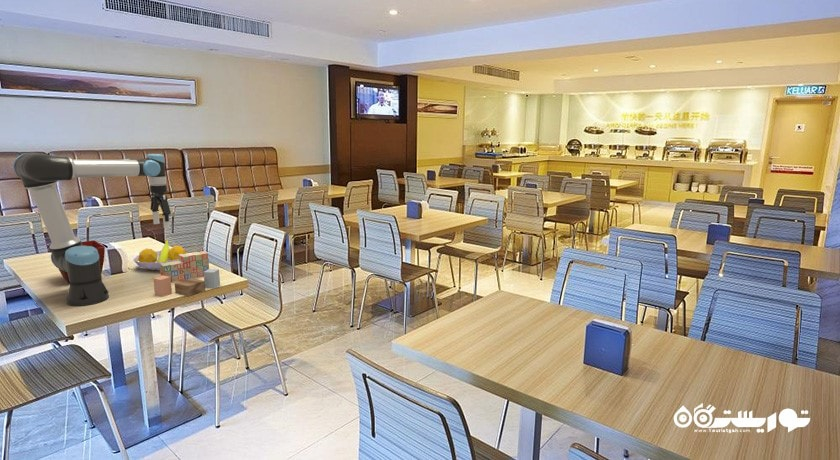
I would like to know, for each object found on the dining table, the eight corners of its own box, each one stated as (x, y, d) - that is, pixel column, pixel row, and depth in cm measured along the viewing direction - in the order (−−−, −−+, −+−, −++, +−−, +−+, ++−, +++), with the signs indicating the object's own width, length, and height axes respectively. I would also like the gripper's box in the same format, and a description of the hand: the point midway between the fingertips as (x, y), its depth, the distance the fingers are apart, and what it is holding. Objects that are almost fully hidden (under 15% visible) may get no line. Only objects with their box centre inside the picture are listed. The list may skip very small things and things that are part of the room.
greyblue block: (214, 288, 224) (213, 272, 222) (204, 287, 225) (203, 271, 223) (220, 285, 229) (218, 269, 227) (210, 284, 229) (209, 268, 228)
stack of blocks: (165, 284, 229) (162, 260, 226) (161, 281, 233) (158, 257, 231) (210, 275, 243) (208, 252, 241) (205, 272, 248) (203, 250, 245)
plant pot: (62, 287, 221) (57, 253, 218) (54, 278, 234) (48, 246, 230) (109, 278, 235) (105, 246, 232) (98, 270, 248) (94, 240, 244)
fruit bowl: (174, 274, 245) (172, 253, 242) (123, 272, 245) (120, 252, 243) (200, 259, 272) (198, 240, 269) (154, 258, 272) (152, 239, 270)
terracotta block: (162, 296, 212) (160, 279, 210) (154, 294, 214) (152, 278, 212) (172, 293, 217) (170, 276, 215) (164, 291, 219) (163, 275, 217)
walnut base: (188, 296, 213) (187, 286, 212) (175, 293, 217) (174, 283, 216) (205, 290, 221) (204, 280, 220) (192, 287, 225) (191, 277, 224)
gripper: (175, 186, 232) (179, 228, 236) (156, 182, 248) (160, 221, 252) (159, 187, 226) (163, 230, 230) (141, 183, 242) (144, 223, 247)
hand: (161, 225), depth 241 cm, fingers open, 13 cm apart
